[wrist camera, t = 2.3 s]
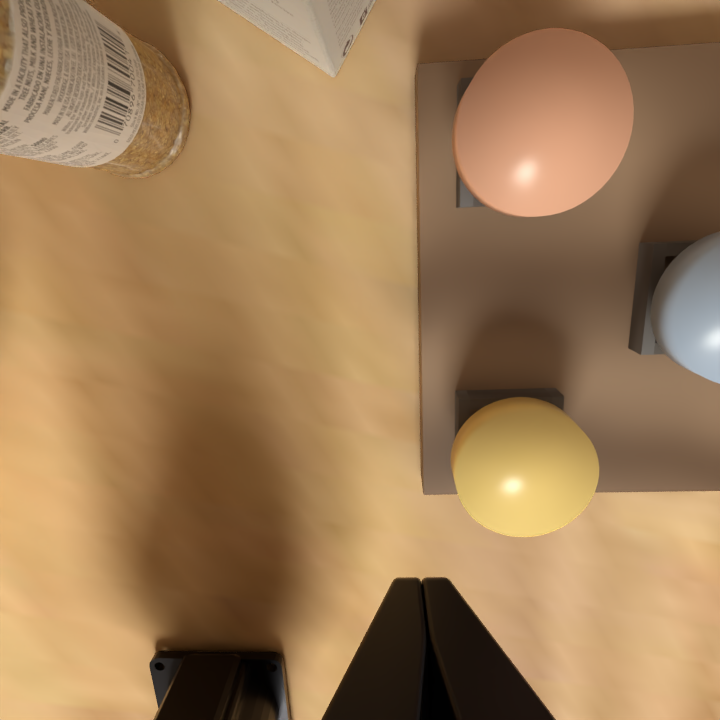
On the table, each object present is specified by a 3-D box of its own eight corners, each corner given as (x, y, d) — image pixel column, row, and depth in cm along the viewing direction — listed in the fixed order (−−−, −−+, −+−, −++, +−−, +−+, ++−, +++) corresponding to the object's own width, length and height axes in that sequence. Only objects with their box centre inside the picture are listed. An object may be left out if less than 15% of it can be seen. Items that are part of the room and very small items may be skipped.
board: (717, 470, 19) (762, 503, 17) (421, 475, 20) (425, 507, 18) (789, 52, 15) (860, 21, 13) (414, 77, 16) (419, 53, 14)
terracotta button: (590, 213, 15) (624, 211, 13) (447, 220, 15) (456, 220, 13) (603, 52, 14) (642, 20, 12) (447, 63, 14) (458, 34, 12)
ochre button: (568, 498, 18) (593, 536, 15) (447, 500, 18) (455, 537, 16) (577, 385, 16) (605, 409, 14) (447, 388, 17) (455, 412, 15)
